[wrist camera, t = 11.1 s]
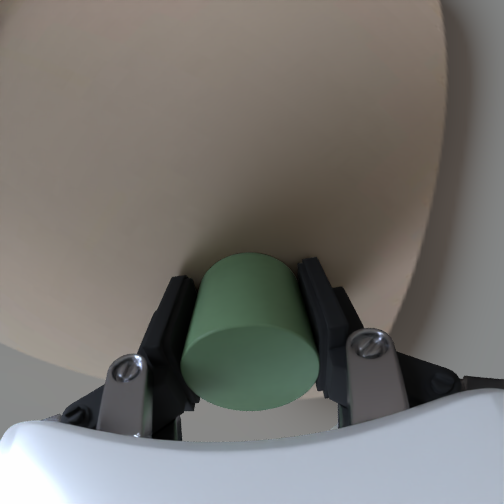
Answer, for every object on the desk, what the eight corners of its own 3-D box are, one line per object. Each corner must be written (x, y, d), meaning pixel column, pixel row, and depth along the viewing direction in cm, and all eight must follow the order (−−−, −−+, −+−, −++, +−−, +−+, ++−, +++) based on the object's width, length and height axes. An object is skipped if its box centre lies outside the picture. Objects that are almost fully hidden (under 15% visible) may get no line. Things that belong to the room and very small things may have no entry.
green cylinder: (301, 328, 11) (319, 402, 8) (211, 339, 12) (201, 414, 8) (296, 244, 10) (322, 313, 6) (187, 259, 10) (159, 332, 6)
